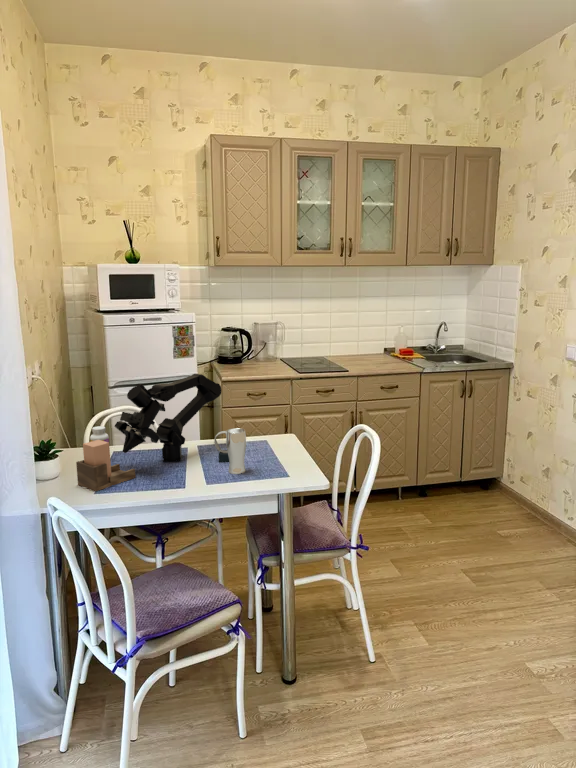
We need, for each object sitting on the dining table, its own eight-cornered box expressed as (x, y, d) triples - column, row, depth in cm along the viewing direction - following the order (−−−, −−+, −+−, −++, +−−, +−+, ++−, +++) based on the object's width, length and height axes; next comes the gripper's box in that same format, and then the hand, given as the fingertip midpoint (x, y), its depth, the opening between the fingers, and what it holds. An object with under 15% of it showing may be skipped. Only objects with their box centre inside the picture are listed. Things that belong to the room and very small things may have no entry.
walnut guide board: (118, 471, 209) (116, 450, 207) (135, 477, 203) (134, 455, 201) (78, 484, 196) (76, 461, 195) (95, 491, 190) (93, 467, 189)
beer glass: (228, 468, 211) (227, 427, 208) (247, 468, 211) (246, 427, 208) (225, 474, 204) (224, 433, 202) (245, 474, 204) (244, 433, 201)
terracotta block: (101, 476, 201) (98, 439, 198) (111, 479, 197) (109, 442, 195) (85, 481, 196) (82, 443, 194) (96, 485, 193) (93, 447, 190)
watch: (235, 462, 218) (235, 433, 216) (214, 462, 218) (213, 433, 215) (236, 457, 223) (236, 429, 221) (215, 457, 223) (214, 429, 221)
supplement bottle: (106, 463, 218) (104, 430, 215) (89, 463, 218) (86, 430, 215) (112, 457, 224) (110, 425, 222) (95, 457, 224) (92, 425, 222)
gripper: (116, 399, 210) (92, 436, 204) (150, 406, 199) (125, 445, 192) (136, 415, 218) (113, 451, 211) (169, 423, 206) (146, 461, 200)
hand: (123, 452), depth 204 cm, fingers closed
